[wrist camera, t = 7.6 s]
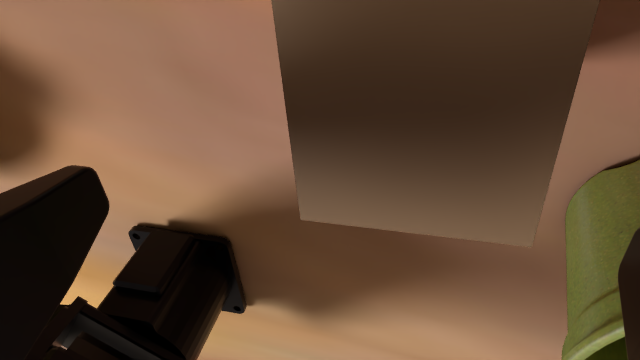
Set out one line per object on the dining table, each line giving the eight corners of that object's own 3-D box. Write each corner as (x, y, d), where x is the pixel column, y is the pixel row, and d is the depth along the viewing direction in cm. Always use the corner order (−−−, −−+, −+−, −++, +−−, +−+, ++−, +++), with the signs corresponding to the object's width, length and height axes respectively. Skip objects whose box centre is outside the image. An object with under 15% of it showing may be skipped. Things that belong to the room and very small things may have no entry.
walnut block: (515, 124, 14) (531, 247, 10) (345, 114, 15) (300, 220, 11) (554, -70, 11) (600, -1, 7) (336, -63, 12) (271, -1, 8)
